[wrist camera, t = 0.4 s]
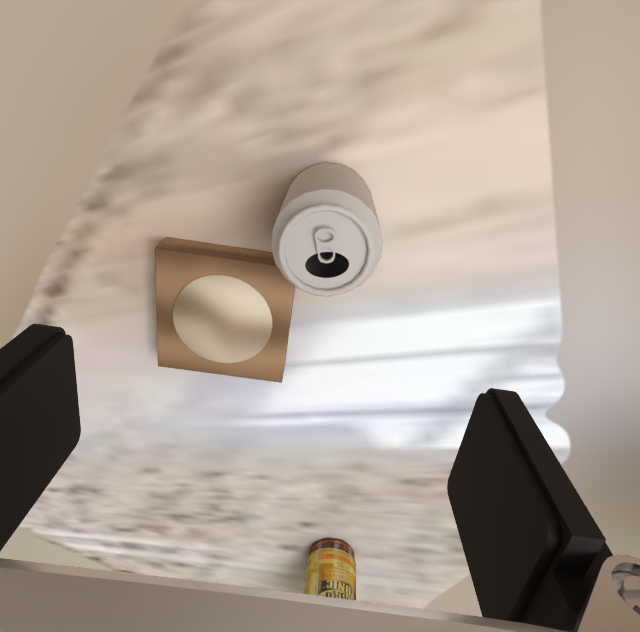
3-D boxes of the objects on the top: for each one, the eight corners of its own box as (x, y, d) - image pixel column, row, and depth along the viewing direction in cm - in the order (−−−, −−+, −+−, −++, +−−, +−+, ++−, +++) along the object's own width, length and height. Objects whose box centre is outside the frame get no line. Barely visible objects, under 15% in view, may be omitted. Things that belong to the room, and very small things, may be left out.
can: (289, 248, 43) (273, 308, 32) (281, 162, 39) (261, 198, 29) (372, 245, 42) (384, 304, 32) (372, 158, 39) (385, 192, 28)
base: (166, 237, 42) (154, 249, 40) (298, 256, 43) (296, 269, 40) (167, 349, 48) (157, 367, 45) (284, 365, 49) (281, 383, 46)
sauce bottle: (364, 546, 61) (375, 739, 44) (338, 572, 64) (339, 763, 46) (321, 528, 60) (315, 719, 42) (296, 554, 62) (281, 745, 45)
